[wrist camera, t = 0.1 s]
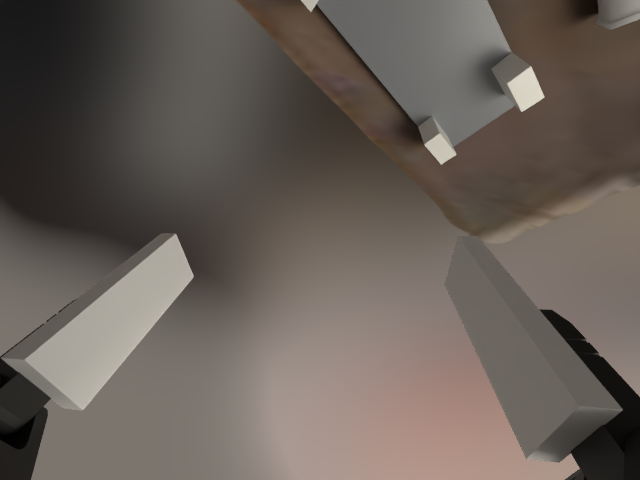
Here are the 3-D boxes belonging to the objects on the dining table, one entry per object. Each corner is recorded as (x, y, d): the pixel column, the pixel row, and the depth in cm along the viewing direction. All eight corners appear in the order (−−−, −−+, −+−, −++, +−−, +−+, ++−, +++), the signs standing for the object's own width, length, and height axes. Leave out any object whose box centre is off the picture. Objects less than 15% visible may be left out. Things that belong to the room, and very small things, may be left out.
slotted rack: (357, -267, 15) (359, -327, 12) (527, 91, 29) (550, 111, 26) (266, -59, 22) (251, -59, 19) (439, 151, 36) (448, 173, 33)
